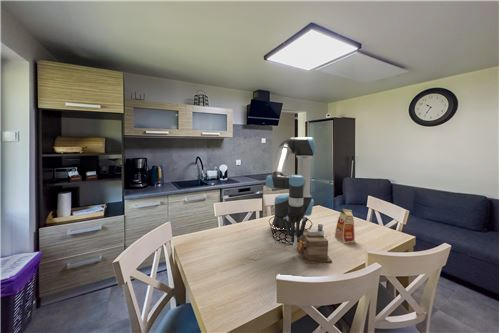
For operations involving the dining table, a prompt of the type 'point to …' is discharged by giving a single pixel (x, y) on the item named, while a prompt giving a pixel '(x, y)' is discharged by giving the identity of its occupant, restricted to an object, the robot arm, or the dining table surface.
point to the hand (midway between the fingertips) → (294, 247)
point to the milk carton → (345, 227)
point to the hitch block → (314, 249)
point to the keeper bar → (316, 231)
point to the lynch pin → (301, 245)
